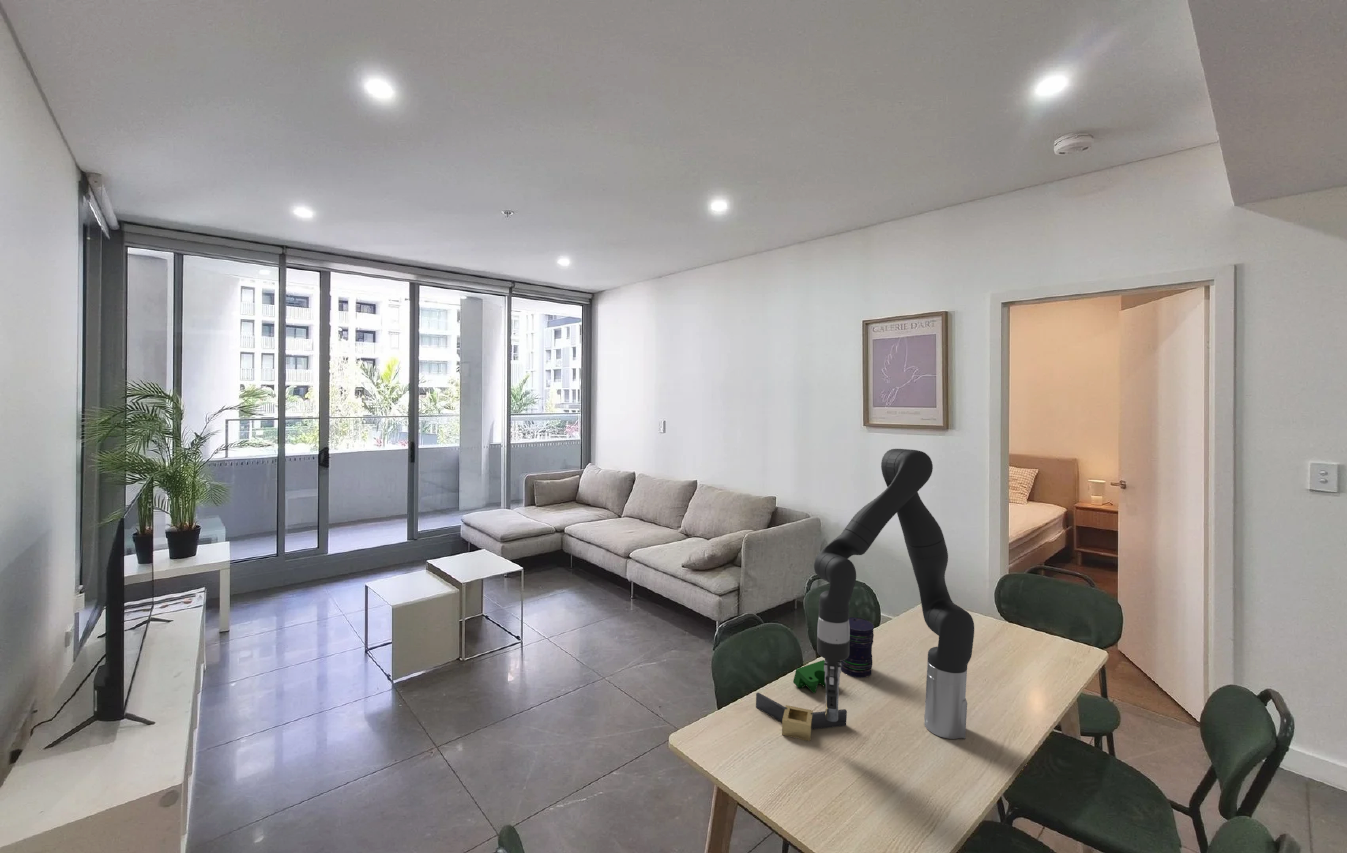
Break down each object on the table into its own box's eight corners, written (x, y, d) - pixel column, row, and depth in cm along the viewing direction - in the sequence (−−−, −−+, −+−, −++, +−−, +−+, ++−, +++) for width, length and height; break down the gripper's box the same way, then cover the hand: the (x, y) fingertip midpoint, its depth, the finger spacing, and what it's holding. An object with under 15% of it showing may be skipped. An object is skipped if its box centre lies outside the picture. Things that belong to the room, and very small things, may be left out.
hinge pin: (838, 715, 136) (839, 676, 135) (837, 722, 133) (838, 682, 132) (825, 713, 137) (826, 674, 136) (824, 720, 134) (825, 680, 133)
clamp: (808, 706, 160) (805, 686, 156) (794, 692, 165) (791, 672, 161) (839, 683, 164) (836, 663, 160) (824, 670, 169) (822, 650, 165)
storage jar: (876, 678, 168) (878, 630, 167) (844, 677, 168) (846, 630, 167) (865, 662, 178) (867, 617, 177) (835, 661, 178) (837, 616, 177)
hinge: (846, 723, 145) (846, 709, 144) (845, 748, 135) (846, 732, 134) (756, 705, 152) (756, 691, 152) (749, 727, 142) (749, 712, 142)
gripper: (849, 650, 125) (847, 723, 127) (849, 625, 139) (848, 691, 140) (815, 645, 128) (814, 717, 129) (819, 621, 141) (817, 686, 142)
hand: (831, 703), depth 134 cm, fingers closed on hinge pin, 3 cm apart
